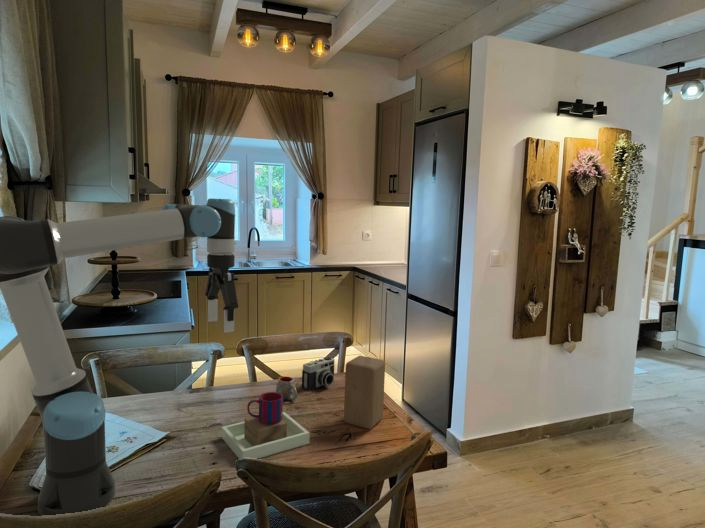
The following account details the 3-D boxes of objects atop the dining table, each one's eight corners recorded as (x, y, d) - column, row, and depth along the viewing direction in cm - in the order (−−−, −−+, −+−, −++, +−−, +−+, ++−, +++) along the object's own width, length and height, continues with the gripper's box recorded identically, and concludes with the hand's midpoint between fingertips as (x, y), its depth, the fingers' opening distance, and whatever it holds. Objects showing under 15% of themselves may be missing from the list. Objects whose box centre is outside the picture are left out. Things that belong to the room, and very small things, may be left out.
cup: (283, 423, 133) (284, 400, 132) (247, 426, 131) (247, 403, 130) (281, 413, 140) (281, 391, 139) (246, 415, 137) (246, 393, 136)
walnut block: (257, 451, 129) (257, 430, 128) (244, 437, 136) (244, 418, 136) (286, 443, 134) (286, 423, 134) (272, 430, 142) (273, 411, 141)
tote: (242, 465, 123) (243, 451, 123) (221, 440, 136) (221, 426, 136) (309, 445, 135) (309, 432, 134) (283, 423, 148) (284, 411, 147)
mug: (273, 394, 170) (273, 377, 170) (290, 391, 174) (290, 373, 173) (285, 407, 160) (285, 388, 159) (304, 403, 164) (304, 385, 163)
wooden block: (342, 423, 150) (344, 362, 147) (356, 411, 159) (359, 354, 156) (370, 430, 145) (373, 368, 143) (383, 418, 154) (386, 359, 152)
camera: (313, 394, 172) (313, 367, 171) (299, 387, 179) (299, 361, 178) (342, 386, 181) (342, 360, 180) (328, 379, 188) (328, 355, 187)
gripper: (250, 257, 126) (249, 335, 128) (218, 249, 146) (218, 315, 148) (223, 258, 121) (223, 338, 124) (194, 249, 141) (194, 318, 144)
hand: (220, 326), depth 136 cm, fingers open, 13 cm apart
